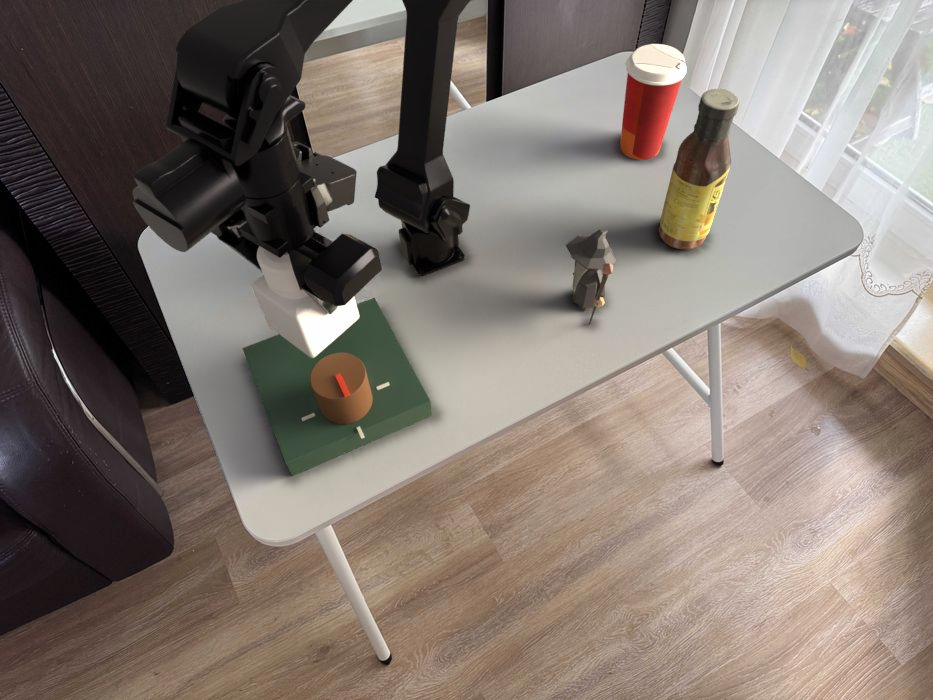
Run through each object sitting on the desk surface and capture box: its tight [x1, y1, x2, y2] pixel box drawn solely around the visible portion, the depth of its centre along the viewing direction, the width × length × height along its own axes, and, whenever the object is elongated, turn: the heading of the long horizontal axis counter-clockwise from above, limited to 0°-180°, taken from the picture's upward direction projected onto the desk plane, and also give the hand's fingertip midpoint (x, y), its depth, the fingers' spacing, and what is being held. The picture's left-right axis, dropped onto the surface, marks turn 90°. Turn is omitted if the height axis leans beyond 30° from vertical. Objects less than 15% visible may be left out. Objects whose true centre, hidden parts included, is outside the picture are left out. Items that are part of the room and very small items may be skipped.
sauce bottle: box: [658, 88, 740, 250], centre depth 84 cm, size 7×6×20 cm
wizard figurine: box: [565, 229, 617, 325], centre depth 81 cm, size 8×6×12 cm
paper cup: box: [620, 43, 688, 161], centre depth 97 cm, size 8×8×14 cm
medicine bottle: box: [250, 246, 359, 358], centre depth 72 cm, size 7×7×12 cm
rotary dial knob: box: [310, 353, 373, 424], centre depth 73 cm, size 6×6×5 cm
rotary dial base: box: [242, 297, 433, 477], centre depth 78 cm, size 16×17×3 cm
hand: (305, 294), depth 73 cm, fingers closed on medicine bottle, 7 cm apart
